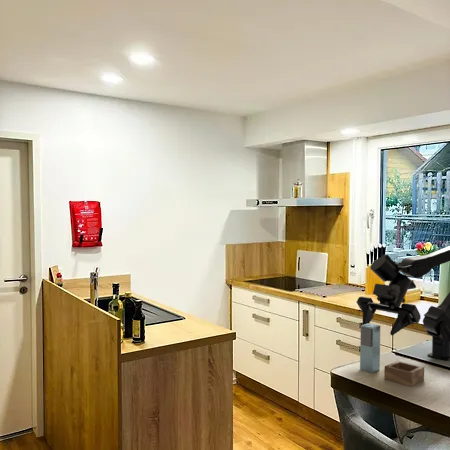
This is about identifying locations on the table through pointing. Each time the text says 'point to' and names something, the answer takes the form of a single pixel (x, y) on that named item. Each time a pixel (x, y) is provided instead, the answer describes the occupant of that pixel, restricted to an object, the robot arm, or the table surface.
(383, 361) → the table surface
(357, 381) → the table surface
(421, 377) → the post base
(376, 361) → the grey-blue tall rectangular block
